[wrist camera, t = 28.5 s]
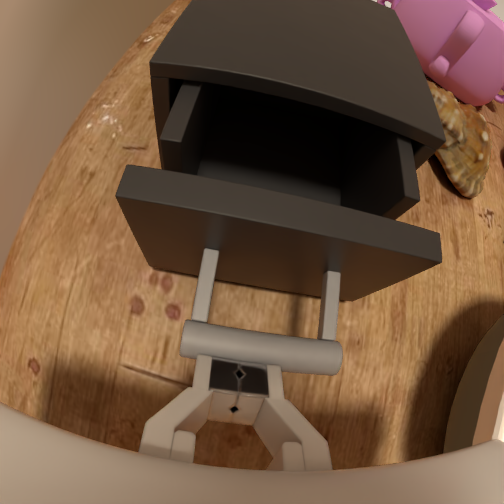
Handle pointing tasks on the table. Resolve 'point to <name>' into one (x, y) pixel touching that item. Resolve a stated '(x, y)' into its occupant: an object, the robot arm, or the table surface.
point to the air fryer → (303, 61)
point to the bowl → (479, 395)
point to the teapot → (457, 45)
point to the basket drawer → (276, 213)
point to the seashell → (462, 142)
